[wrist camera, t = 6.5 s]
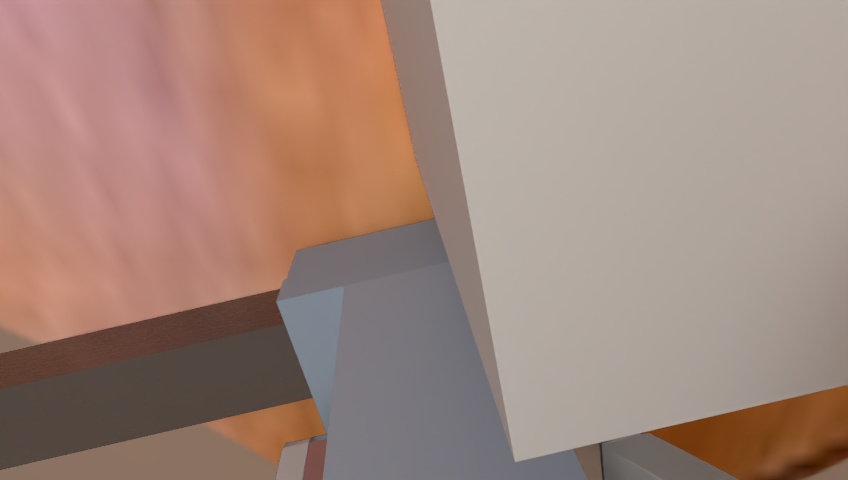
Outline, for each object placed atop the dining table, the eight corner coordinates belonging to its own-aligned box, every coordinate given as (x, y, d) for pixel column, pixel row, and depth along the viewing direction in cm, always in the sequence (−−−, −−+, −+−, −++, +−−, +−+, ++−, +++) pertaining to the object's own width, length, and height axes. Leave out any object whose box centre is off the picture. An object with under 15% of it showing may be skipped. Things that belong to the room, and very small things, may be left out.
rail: (681, 170, 14) (790, 220, 10) (681, 291, 16) (775, 373, 12) (-137, 358, 14) (-320, 477, 10) (-52, 461, 15) (-185, 595, 12)
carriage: (513, 197, 13) (733, 460, 5) (534, 347, 15) (717, 708, 7) (295, 247, 13) (173, 591, 5) (345, 391, 15) (313, 803, 7)
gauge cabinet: (631, -64, 12) (1625, -419, 2) (637, 115, 13) (1233, 313, 4) (379, -7, 12) (404, -144, 2) (417, 166, 13) (517, 480, 4)
